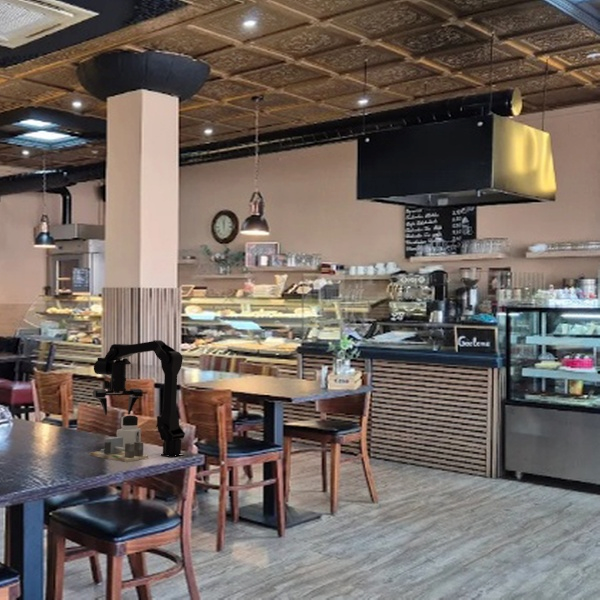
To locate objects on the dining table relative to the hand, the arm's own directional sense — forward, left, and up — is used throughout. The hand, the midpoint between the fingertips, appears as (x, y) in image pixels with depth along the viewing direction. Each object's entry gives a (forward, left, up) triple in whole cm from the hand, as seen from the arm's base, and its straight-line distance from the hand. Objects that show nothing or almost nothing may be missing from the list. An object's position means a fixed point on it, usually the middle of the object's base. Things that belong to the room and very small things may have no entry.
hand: (117, 414), depth 317 cm
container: (-2, -5, -14) cm, 15 cm away
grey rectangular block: (-14, +12, -12) cm, 22 cm away
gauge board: (-14, +11, -14) cm, 23 cm away
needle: (-13, +16, -12) cm, 24 cm away
